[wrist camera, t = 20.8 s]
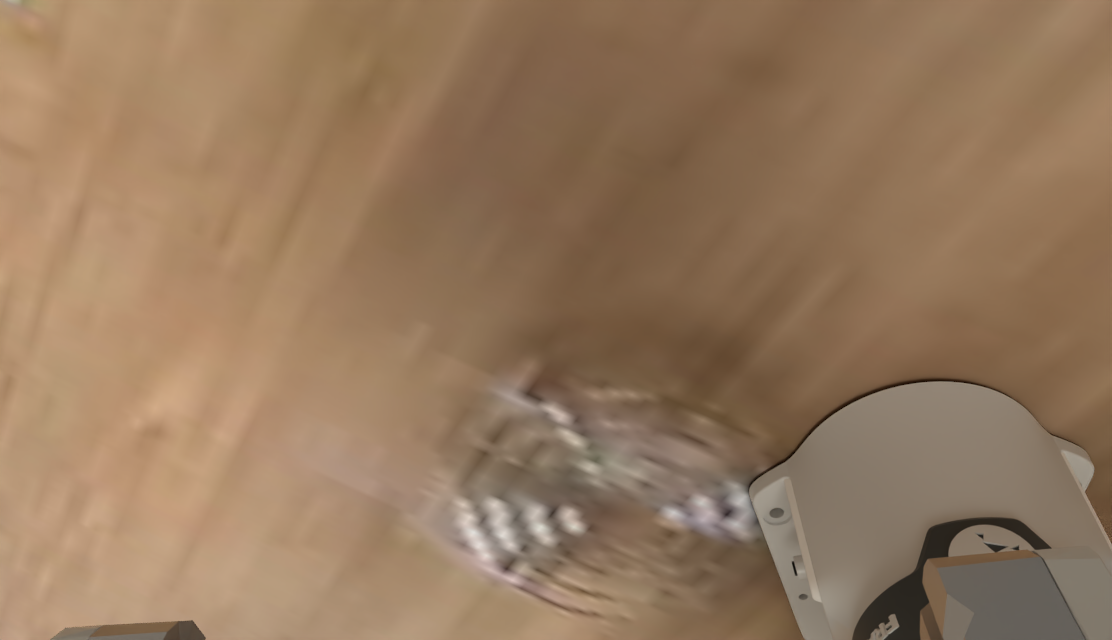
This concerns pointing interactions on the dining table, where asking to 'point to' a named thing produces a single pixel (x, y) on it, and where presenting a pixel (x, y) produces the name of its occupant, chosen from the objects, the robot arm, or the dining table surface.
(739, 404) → the dining table surface
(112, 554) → the dining table surface
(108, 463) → the dining table surface
